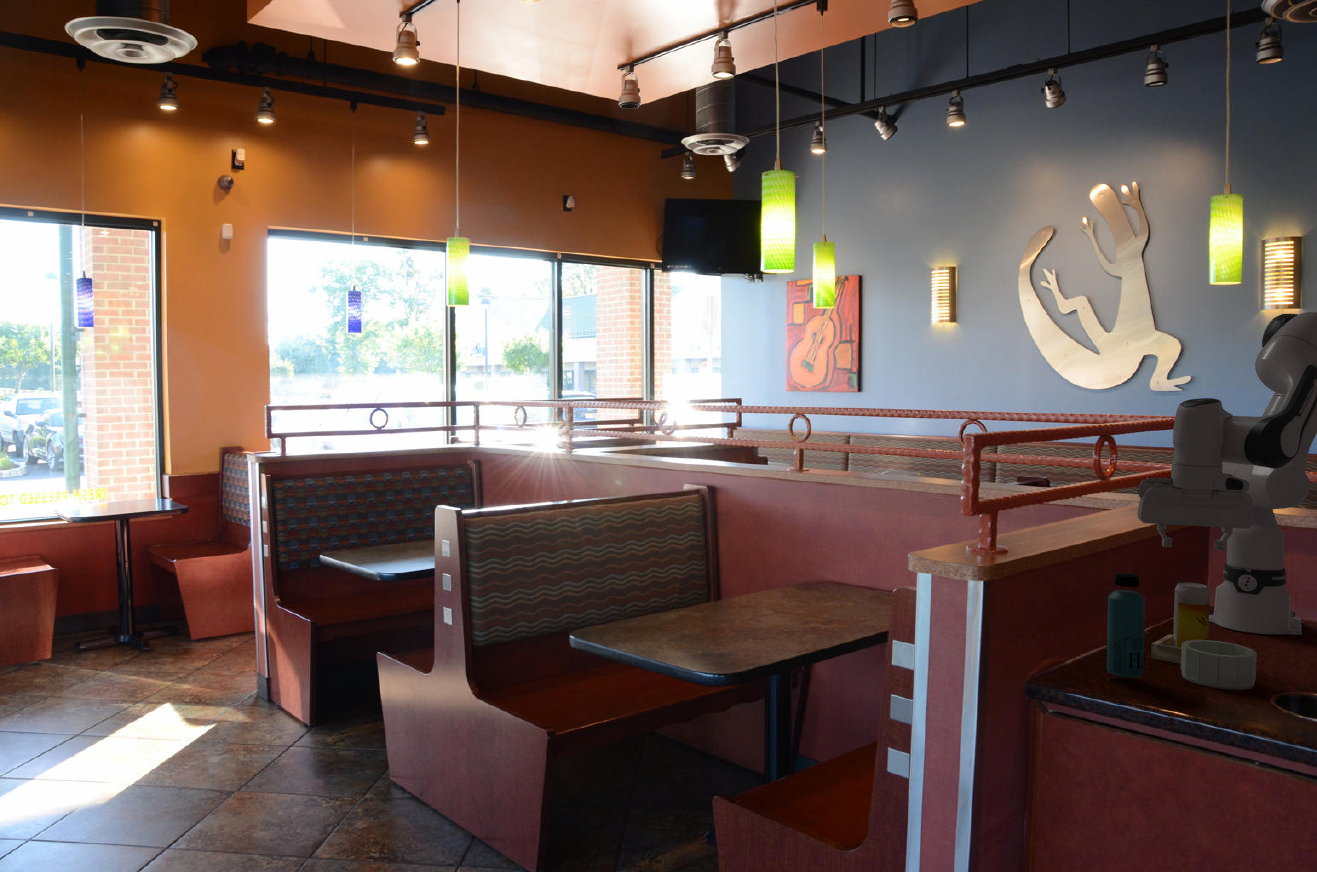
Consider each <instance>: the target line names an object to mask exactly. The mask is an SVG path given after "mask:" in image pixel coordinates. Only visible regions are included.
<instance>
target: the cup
mask: <svg viewBox="0 0 1317 872" xmlns="http://www.w3.org/2000/svg"><path fill="white" fill-rule="evenodd" d="M1257 654H1258V652H1256V651H1255V650H1254V649H1252V648H1250V647H1247V646H1244V645H1240V644H1237V643H1231V642H1227V641H1220V640H1209V639H1208V640H1190V641H1185V642H1184V643H1182V649H1181V664H1180V671H1181V676H1182V678H1183V679H1184V680H1186V681H1188V682H1190V683H1193V684H1196V685H1200V686H1204V687H1206V688H1207V687H1208V688H1212V689H1213V688H1214V689H1218V690H1219V689H1220V690H1227V691H1228V690H1229V691H1230V690H1232V691H1242V690H1251V689H1253V688H1254V687H1255V681H1256V680H1257V660H1258V659H1257V658H1258V657H1257Z"/></svg>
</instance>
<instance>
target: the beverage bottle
mask: <svg viewBox="0 0 1317 872" xmlns="http://www.w3.org/2000/svg"><path fill="white" fill-rule="evenodd" d="M1113 583H1114V585H1115V586H1119V587H1126V588H1139V586H1140V578H1139V575H1138V574H1135V573H1130V572H1129V573H1128V572H1117V573H1115V576H1114V581H1113ZM1145 607H1146V598H1144V597H1143V595H1142V594H1140V593H1139V592H1138V591H1134V590H1127V589H1116V590H1114V591H1112V592H1111V593H1109V594H1108V596H1107V629H1106V641H1105V642H1106V643H1105V650H1106V653H1105V658H1106V661H1105V664H1106V667H1105V668H1106V670H1107V673H1109V674H1111V675H1114V676H1118V677H1122V678H1141V677H1143V675H1144V672H1145V666H1146V664H1145V662H1146V661H1145V660H1146V659H1145V658H1146V657H1145V656H1146V655H1145V654H1146V651H1145V632H1146V631H1145V630H1146V615H1145V613H1146V612H1145V610H1146V608H1145Z"/></svg>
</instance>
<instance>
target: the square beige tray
mask: <svg viewBox="0 0 1317 872" xmlns="http://www.w3.org/2000/svg"><path fill="white" fill-rule="evenodd" d="M1181 649H1182V648H1180V647H1174V646H1173V634H1171V633H1169V634H1167V635H1165V636H1164V637H1161V638H1159V639H1158V640H1156V641H1154V642H1152V643H1151V654H1150V655H1151V657H1150V658H1151V659H1152V660H1157V661H1163V662H1168V663H1174V664H1179V665H1181Z"/></svg>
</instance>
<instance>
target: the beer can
mask: <svg viewBox="0 0 1317 872" xmlns="http://www.w3.org/2000/svg"><path fill="white" fill-rule="evenodd" d="M1210 594H1211V593H1210V591H1209V588H1208V586H1207V585H1205V584H1201V583H1197V582H1178V583H1177V584H1176V586H1175V588H1174V602H1173V603H1174V604H1173V605H1174V606H1173V610H1174V611H1173V634H1172V635H1173V646H1174V647H1180V648H1182V643H1184V642H1185V641H1190V640H1209V629H1210V628H1209V627H1210V626H1209V622H1210V621H1209V615H1210Z"/></svg>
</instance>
